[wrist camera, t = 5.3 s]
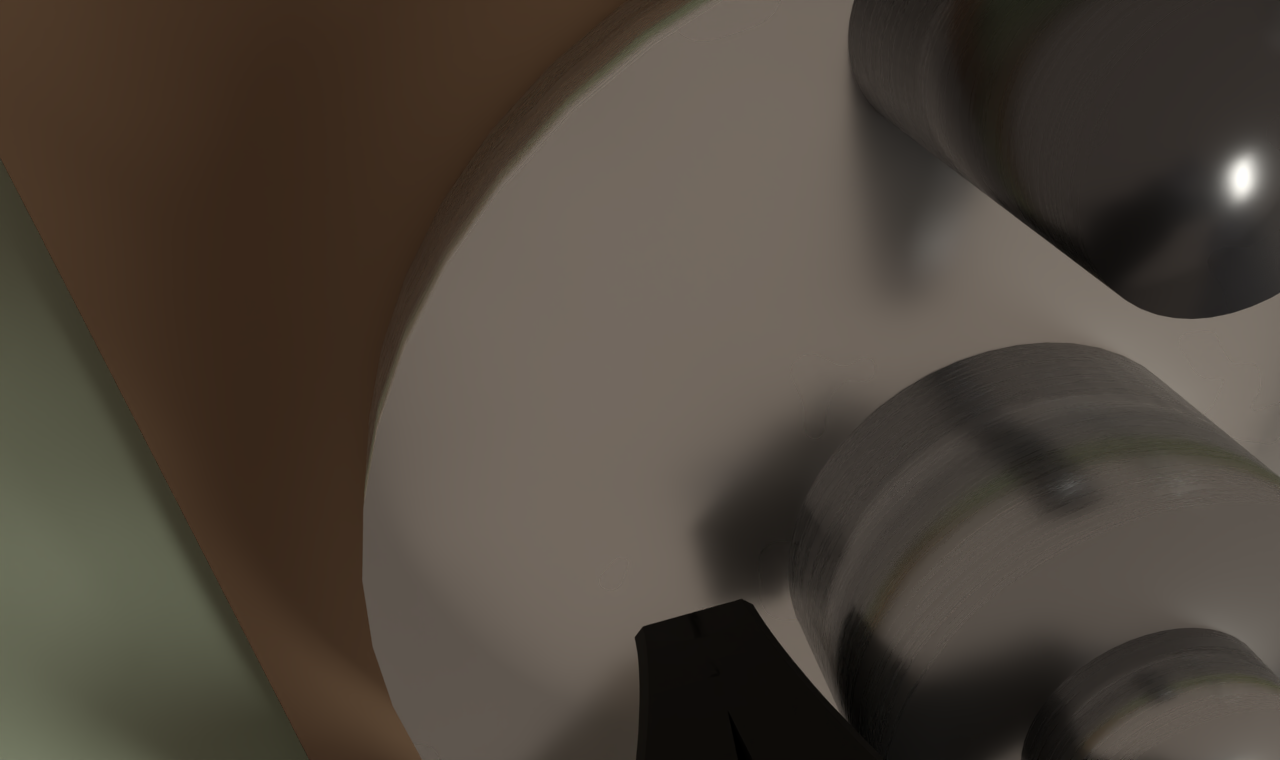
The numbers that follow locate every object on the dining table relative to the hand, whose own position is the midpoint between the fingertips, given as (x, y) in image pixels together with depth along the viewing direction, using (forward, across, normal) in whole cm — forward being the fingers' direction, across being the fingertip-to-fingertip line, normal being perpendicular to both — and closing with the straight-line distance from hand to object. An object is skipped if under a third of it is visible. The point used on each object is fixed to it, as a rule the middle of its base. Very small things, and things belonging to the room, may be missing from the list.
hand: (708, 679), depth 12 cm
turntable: (+4, -4, 0) cm, 5 cm away
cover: (+1, -4, 0) cm, 4 cm away
